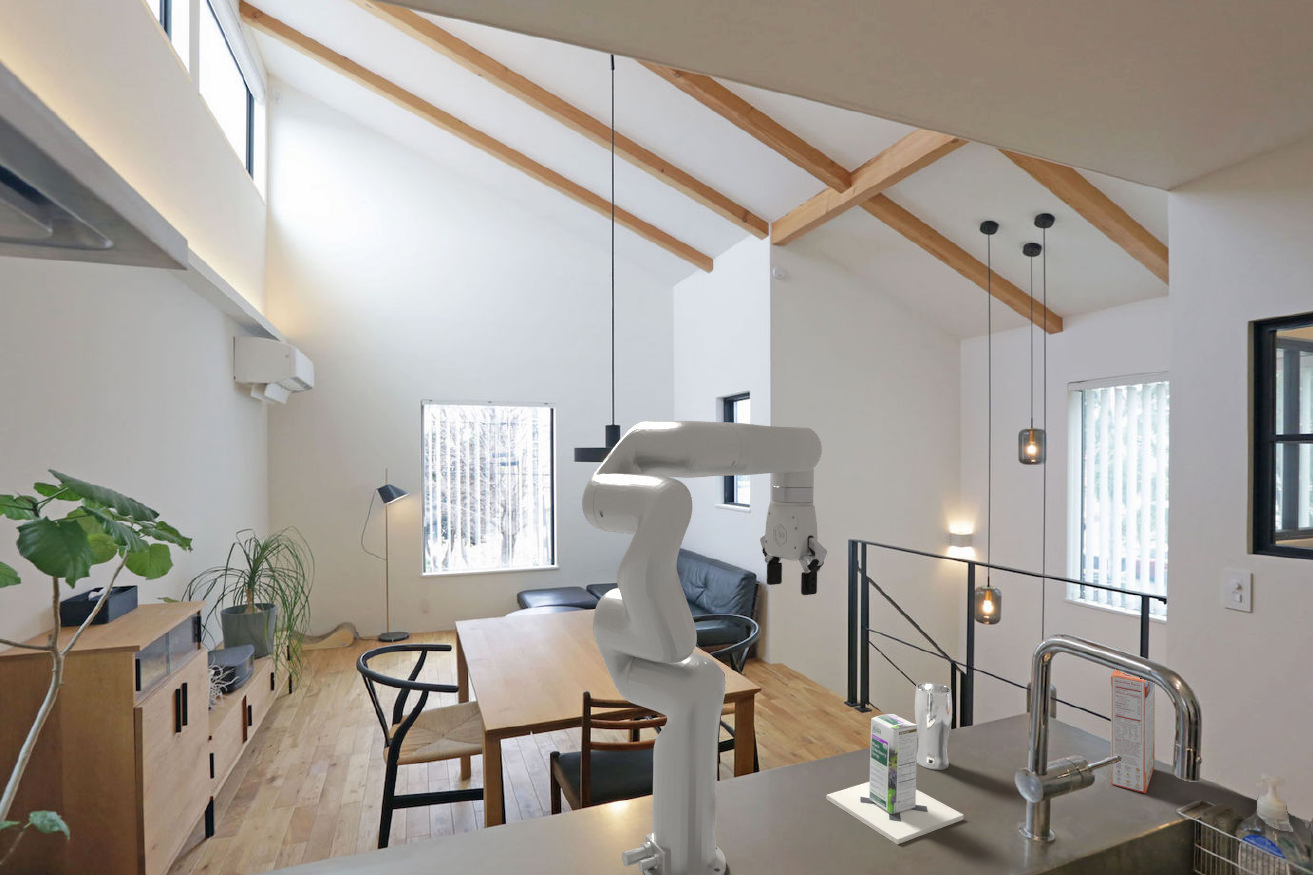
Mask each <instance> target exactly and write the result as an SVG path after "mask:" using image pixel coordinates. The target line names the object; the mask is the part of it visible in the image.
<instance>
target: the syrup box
mask: <svg viewBox="0 0 1313 875" xmlns="http://www.w3.org/2000/svg"><path fill="white" fill-rule="evenodd" d="M869 751H870V752H869V753H870V755H869V756H870V757H869V758H870V760H869V782H870V786H869V800H870V801H873V802H874V803H876V804H877V805H879V806H880V807H882V808H883V809H885V810H886V811H888V812H889V813H890V814H895V813H899V812H902V811H905V810H909V809H912V808H915V803H916V789H917V764H918V763H917V751H918V732H917V725H916V723H913V722H911V721H909V720H906V719H905V718H902V717H900V716H898V715H897V714H895V713H890V714H889V713H887V714H881V715H876V716H874V717H872V718H871V720H870V750H869Z"/></svg>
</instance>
